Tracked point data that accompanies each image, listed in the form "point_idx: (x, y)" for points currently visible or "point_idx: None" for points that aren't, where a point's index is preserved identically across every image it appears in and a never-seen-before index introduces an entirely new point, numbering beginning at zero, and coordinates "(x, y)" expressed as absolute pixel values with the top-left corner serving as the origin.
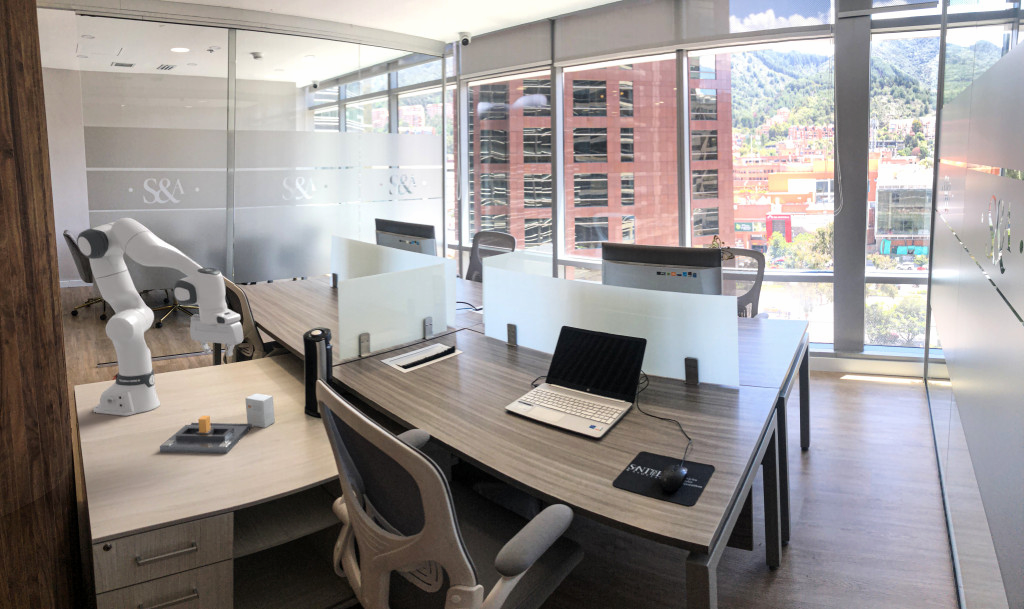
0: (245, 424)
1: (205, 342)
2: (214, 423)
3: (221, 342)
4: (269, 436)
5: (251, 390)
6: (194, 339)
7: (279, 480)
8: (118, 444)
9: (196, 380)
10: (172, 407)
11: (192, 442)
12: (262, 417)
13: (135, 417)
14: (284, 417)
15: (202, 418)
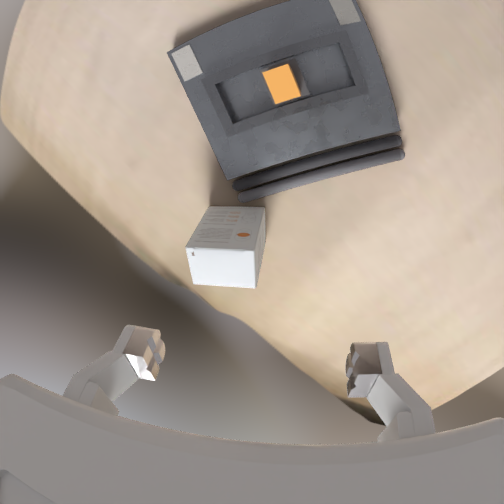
0: (252, 193)
1: (387, 432)
2: (338, 170)
3: (111, 422)
4: (162, 171)
5: None
6: (487, 430)
7: (24, 51)
8: (475, 18)
9: (492, 345)
10: (495, 240)
11: (282, 32)
12: (206, 219)
13: None
14: None
15: (279, 74)
